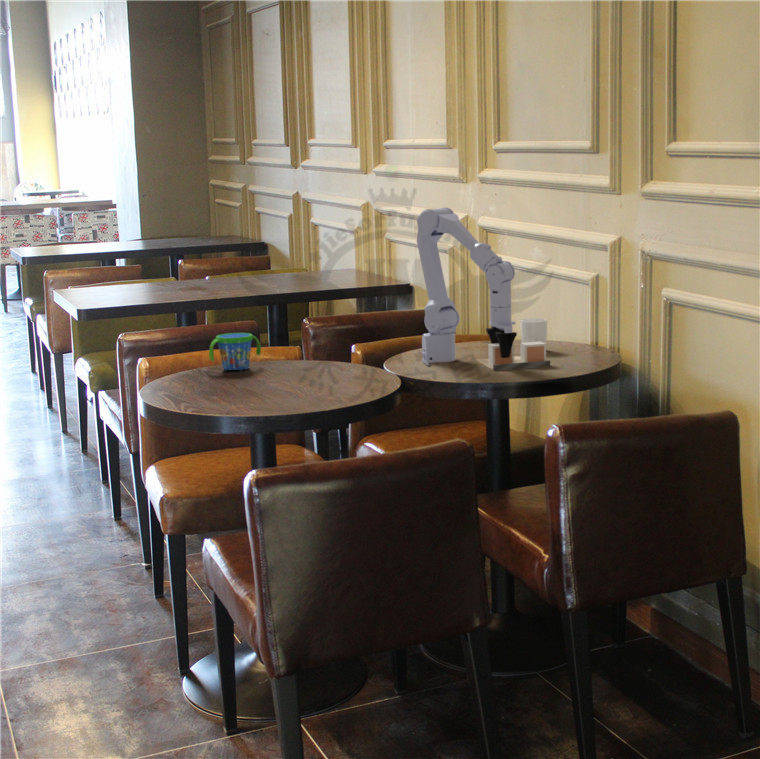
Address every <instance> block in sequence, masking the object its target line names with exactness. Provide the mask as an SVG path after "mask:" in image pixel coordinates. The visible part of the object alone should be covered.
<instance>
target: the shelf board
mask: <svg viewBox="0 0 760 759" xmlns="http://www.w3.org/2000/svg"><path fill="white" fill-rule="evenodd" d="M475 360H476V361H477V362H479V363H481V364H482V365H484V366H485V367H487V368H489V369H491V370H492V371H494V372H495V371H508V370H509V371H511V370H523V369H534V368H535V369H536V368H548V367H551V360H546V361H537V362H524V363H521V355H518V356H517V355H516V356H514V363H510V364H497V365H493V367H491V366H489V357H488V358H479V359H478V358H477V359H475Z"/></svg>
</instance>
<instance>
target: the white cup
mask: <svg viewBox="0 0 760 759" xmlns="http://www.w3.org/2000/svg"><path fill="white" fill-rule="evenodd" d="M520 333H521V334H520V335H521V343H527V342H543V343H546V344H547V337H548V319H546V318H540V317H535V318H534V317H531V318H523V319H520Z"/></svg>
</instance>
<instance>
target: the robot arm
mask: <svg viewBox="0 0 760 759" xmlns="http://www.w3.org/2000/svg"><path fill="white" fill-rule="evenodd" d="M416 224H417V237H416V243H417V249H418V254H419V259H420V262H421V268H422V273H423V274H422V275H423V279H424V284H425V287H426V293H427V298H428V301H427V304H426V305H425V307H424V320H423V321H424V325H425V328H426V330H427V331H428V333H423V334H422V337H421V356H422V359H421V361H422V362H423V364H426V365H427V366H432V363H433V364H434V363H448V362H449V363H450V362H454V361H456V358H457V357H456V332H455V331H457V330H456V329H457V328H456V327H458V325H459V324H460V319H461V318H460V314H459V312H458V310H457V309H456V307H455V303H454V301H453V300H451V298H449V296H448V292H447V288H446V282H445V277H444V273H443V268H442V263H441V262H442V261H441V258H440V257H441V256H440V252H439V248H438V242H439V241H440V239H441V238H442V236H443V235H445V234H449V235H450V236H452V237H453V238H454V239H456V240H457V242H459V244H461V245H462V246H463V247H464V248H465V249H466V250H468V251H469V258H470V259H471V260H472V261H473V262H474V263H475V264H476V266H478V267H479V268H480V269H481V271H482V272H483V273H484V277H485V280H486V282H487V283H488V289H489V311H490V312H489V313H490V314H489V316H490V317H489V318H490V319H489V327H487V328H485V331H486V333H487V335H488V338H489V340H490V344H494V343H499V346H500V353H501V357H502V358H509V357H510V353H511V348H512V344H513V345H514V341H515V339H516V337H517V336H518V333H517V332H515V331H514V332H513V325H516V324H517V323H516V321H515V320H512V281H513V279H514V278H515V274H516V272H515V268H514V266H513V264H512V263H511V262H510V261H508V260H505V261H504V260H503V257H502V256H498V254H496V252H495V251H494V250H492V246H491V245H490V244H489V243H486V242H479V241H478V240H477V239H476V238H475V237H474V236H473V234H472V233H471V232H470V231H469V230H468V228H466V226H465V225H464V224H463V223H462V222H461V220H460V219H459V216H458V214H456V213H455V212H454V210H452V209H451V208H450V207H442V208H433V209H432V208H431V209H430V208H427V209H426V208H425V209H424V210H422V212H420V215H419V216H418V218H417V219H416Z"/></svg>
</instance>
